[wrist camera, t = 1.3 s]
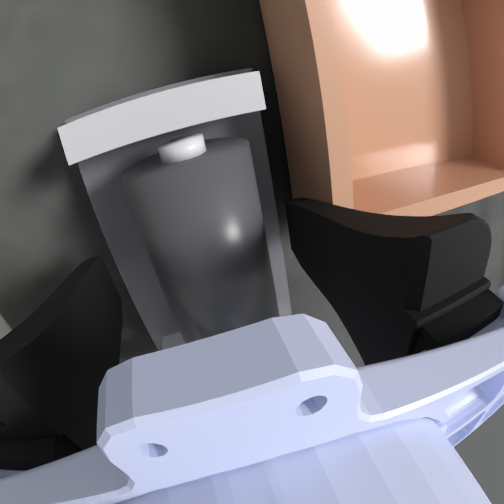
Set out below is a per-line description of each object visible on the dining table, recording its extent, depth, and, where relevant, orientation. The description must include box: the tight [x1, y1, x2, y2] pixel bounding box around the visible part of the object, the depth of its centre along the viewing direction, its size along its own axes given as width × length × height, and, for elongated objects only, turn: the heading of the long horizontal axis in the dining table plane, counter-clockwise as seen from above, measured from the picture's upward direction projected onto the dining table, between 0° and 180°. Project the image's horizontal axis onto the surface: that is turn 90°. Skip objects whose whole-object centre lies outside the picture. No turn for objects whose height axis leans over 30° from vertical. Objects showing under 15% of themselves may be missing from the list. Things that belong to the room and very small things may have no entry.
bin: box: [259, 0, 504, 216], centre depth 10 cm, size 13×13×4 cm
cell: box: [121, 134, 280, 344], centre depth 11 cm, size 8×4×4 cm, turn 10°
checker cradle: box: [58, 68, 292, 351], centre depth 12 cm, size 12×7×4 cm, turn 10°
